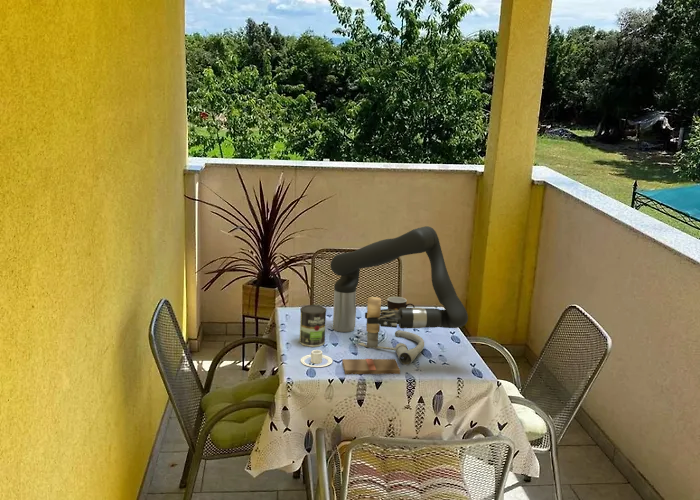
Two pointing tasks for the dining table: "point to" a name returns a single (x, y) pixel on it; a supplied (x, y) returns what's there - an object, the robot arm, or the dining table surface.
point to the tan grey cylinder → (373, 329)
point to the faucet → (405, 347)
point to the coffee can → (312, 325)
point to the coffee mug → (397, 303)
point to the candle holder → (316, 358)
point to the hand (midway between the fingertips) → (366, 318)
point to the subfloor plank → (370, 366)
